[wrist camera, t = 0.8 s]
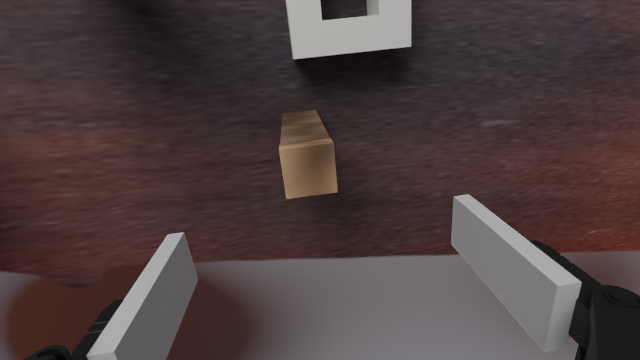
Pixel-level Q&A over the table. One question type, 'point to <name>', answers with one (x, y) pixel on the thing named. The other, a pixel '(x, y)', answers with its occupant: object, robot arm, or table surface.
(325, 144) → the bronze peg
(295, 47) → the socket block
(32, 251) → the table surface
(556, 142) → the table surface
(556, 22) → the table surface
